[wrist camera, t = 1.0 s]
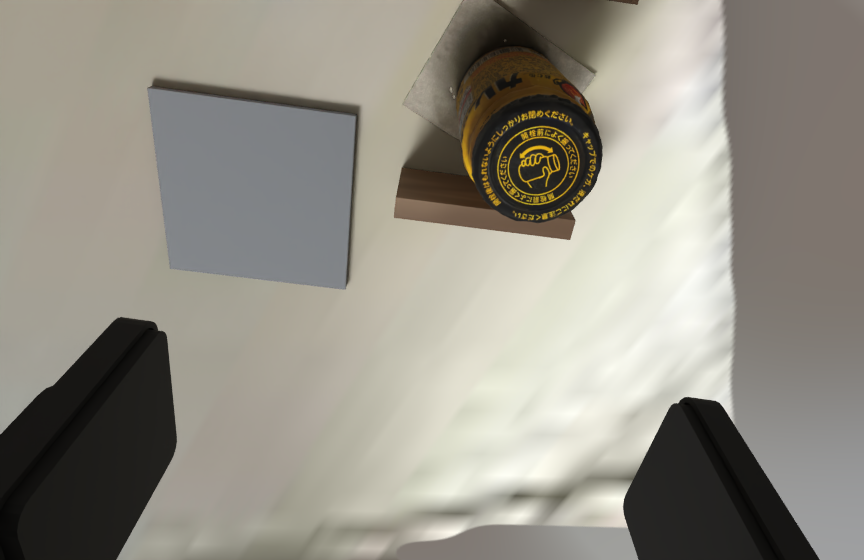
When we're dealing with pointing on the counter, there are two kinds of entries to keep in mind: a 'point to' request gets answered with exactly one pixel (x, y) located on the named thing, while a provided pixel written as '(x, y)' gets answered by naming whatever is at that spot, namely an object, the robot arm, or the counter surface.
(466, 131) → the condiment
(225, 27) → the counter surface
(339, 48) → the counter surface
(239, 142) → the mat
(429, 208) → the brown angular block
